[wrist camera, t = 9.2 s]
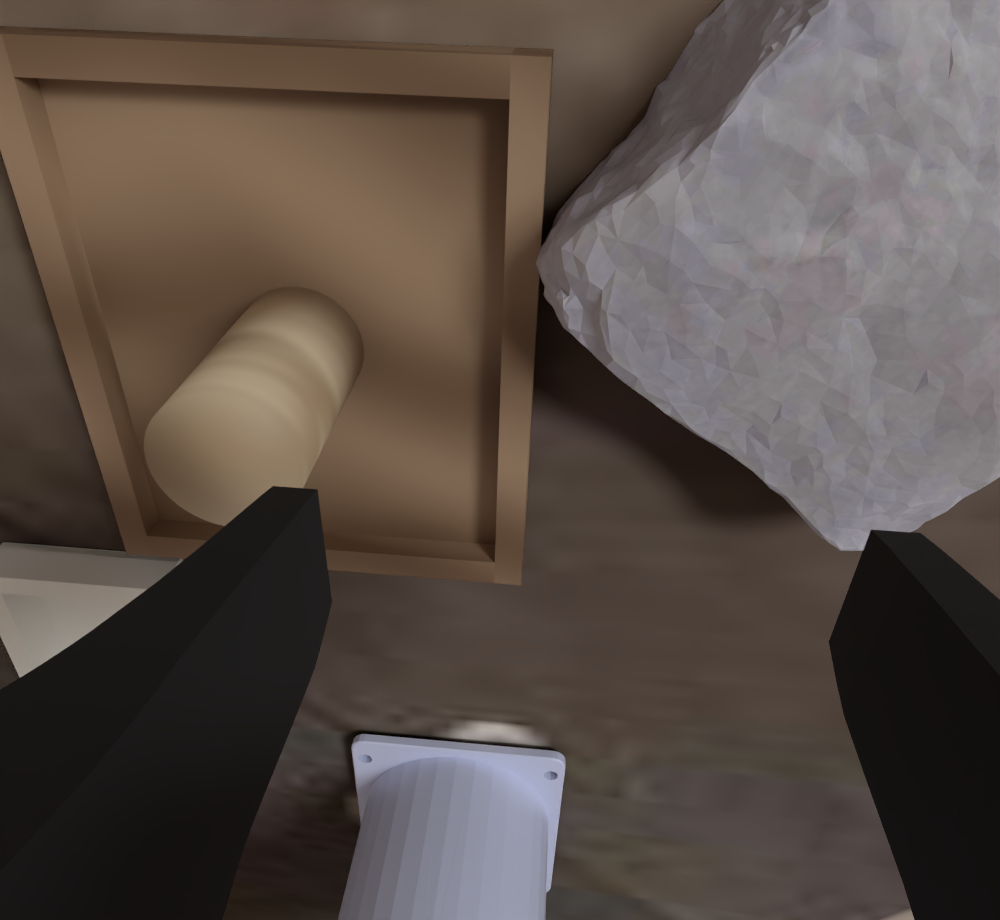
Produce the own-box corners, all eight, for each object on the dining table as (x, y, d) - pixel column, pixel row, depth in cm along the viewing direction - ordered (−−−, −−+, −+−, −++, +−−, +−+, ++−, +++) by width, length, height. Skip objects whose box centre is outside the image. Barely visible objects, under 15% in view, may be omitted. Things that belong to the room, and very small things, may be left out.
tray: (523, 558, 24) (520, 585, 23) (144, 529, 25) (126, 554, 24) (553, 49, 16) (552, 57, 15) (-1, 26, 17) (-37, 31, 16)
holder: (214, 680, 29) (197, 716, 27) (55, 666, 29) (31, 702, 28) (182, 555, 25) (160, 590, 24) (3, 541, 26) (-29, 575, 24)
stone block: (799, -131, 16) (498, 263, 19) (931, -206, 12) (515, 319, 15) (1112, 231, 20) (819, 511, 23) (1299, 275, 16) (907, 612, 19)
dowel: (366, 404, 21) (308, 534, 17) (249, 394, 21) (160, 520, 17) (361, 292, 19) (295, 403, 15) (233, 281, 19) (128, 388, 15)
